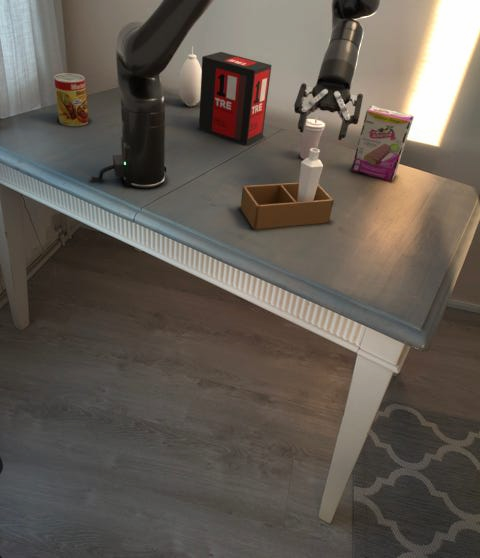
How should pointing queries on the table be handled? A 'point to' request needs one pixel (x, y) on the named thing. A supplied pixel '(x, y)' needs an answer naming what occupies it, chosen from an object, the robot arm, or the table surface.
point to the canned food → (71, 99)
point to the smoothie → (311, 135)
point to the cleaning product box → (233, 97)
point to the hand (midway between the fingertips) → (320, 134)
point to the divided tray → (283, 206)
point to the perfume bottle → (309, 176)
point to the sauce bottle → (190, 81)
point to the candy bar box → (381, 142)
